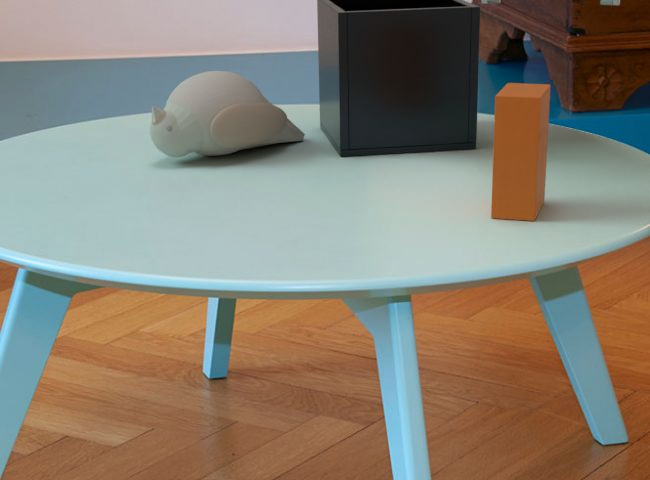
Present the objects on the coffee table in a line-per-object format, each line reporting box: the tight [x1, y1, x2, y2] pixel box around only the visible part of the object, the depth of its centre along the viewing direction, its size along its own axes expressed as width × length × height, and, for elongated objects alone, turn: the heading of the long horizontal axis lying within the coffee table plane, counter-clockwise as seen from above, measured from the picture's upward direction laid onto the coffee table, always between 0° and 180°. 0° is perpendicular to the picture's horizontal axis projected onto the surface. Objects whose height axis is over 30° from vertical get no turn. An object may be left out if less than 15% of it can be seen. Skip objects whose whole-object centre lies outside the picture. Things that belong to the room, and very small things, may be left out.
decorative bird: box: [149, 70, 306, 158], centre depth 103 cm, size 9×16×8 cm, turn 134°
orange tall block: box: [490, 82, 551, 222], centre depth 84 cm, size 3×5×9 cm, turn 162°
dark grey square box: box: [316, 0, 481, 158], centre depth 106 cm, size 13×13×13 cm
